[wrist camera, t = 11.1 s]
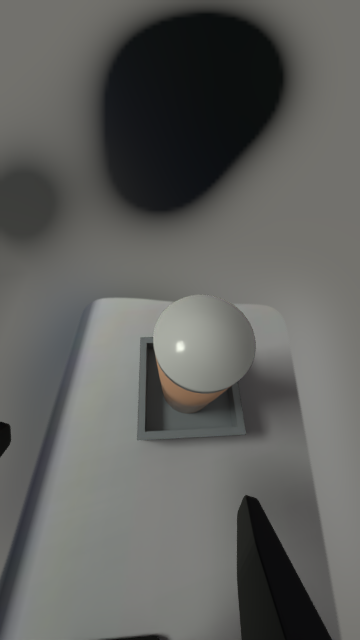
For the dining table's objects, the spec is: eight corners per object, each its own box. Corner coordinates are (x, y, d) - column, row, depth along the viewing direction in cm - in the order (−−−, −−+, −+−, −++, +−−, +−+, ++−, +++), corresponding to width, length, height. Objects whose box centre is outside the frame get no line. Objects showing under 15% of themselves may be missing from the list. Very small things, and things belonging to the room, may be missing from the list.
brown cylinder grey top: (175, 423, 21) (180, 411, 10) (153, 373, 23) (137, 315, 11) (222, 398, 22) (276, 361, 11) (198, 353, 24) (222, 282, 13)
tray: (140, 439, 21) (137, 440, 18) (143, 346, 25) (140, 337, 22) (238, 434, 21) (246, 434, 19) (224, 343, 25) (230, 334, 23)
